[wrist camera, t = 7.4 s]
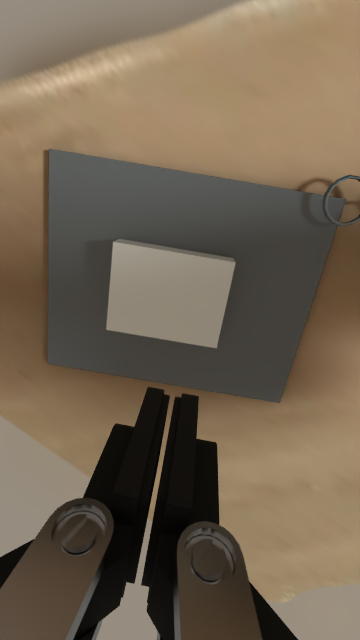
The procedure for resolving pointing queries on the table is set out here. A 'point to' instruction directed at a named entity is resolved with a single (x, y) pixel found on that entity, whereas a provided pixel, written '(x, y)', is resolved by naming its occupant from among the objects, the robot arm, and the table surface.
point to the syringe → (327, 199)
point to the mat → (194, 235)
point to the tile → (168, 292)
